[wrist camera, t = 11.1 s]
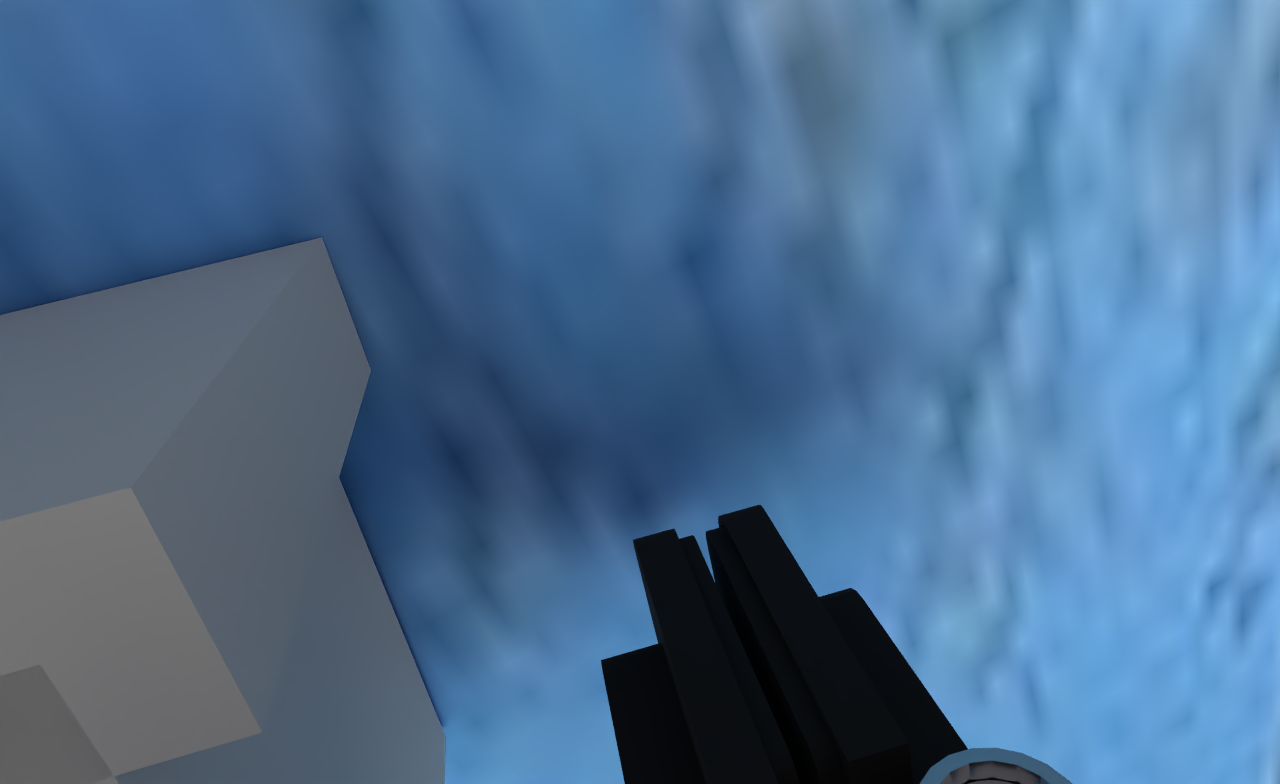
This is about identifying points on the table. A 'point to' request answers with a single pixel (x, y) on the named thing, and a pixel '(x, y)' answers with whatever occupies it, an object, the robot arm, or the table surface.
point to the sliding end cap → (196, 541)
